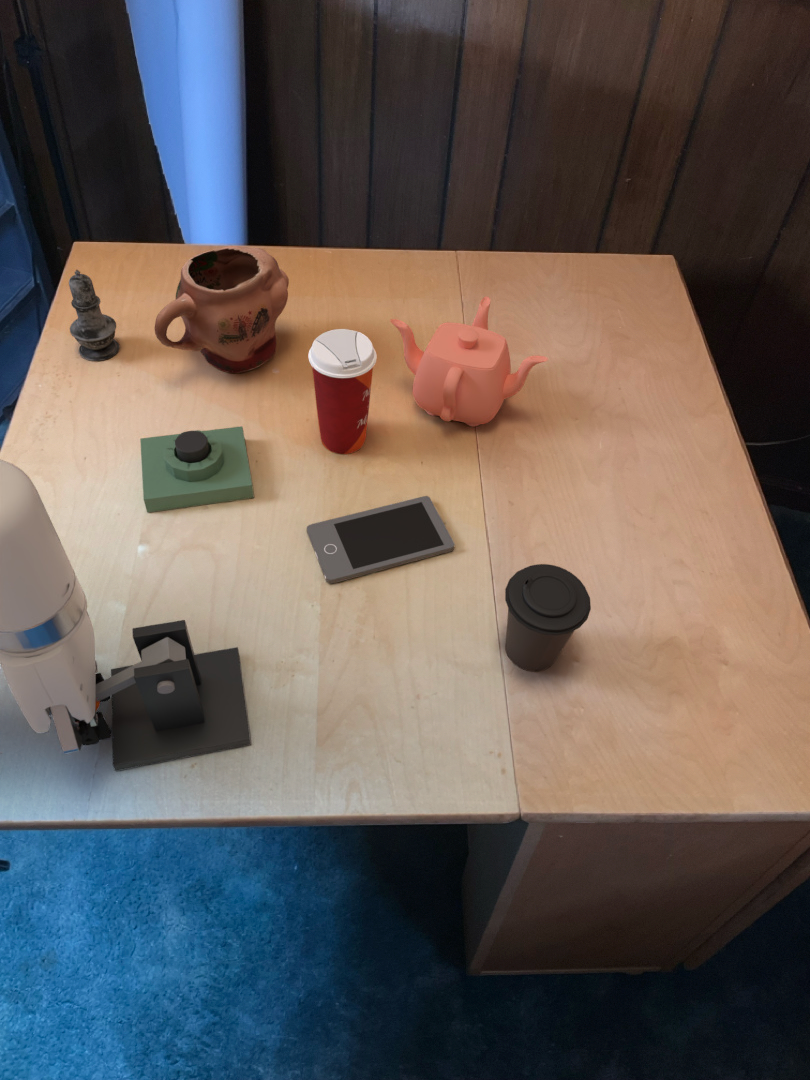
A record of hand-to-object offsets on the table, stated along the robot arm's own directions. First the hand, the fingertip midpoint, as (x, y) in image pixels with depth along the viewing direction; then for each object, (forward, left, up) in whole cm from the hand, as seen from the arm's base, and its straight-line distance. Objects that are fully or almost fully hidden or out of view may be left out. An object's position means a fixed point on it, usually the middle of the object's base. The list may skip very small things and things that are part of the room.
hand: (93, 718), depth 73 cm
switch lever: (+4, 0, +4) cm, 6 cm away
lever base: (+8, 0, -1) cm, 8 cm away
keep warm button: (+12, +31, +2) cm, 33 cm away
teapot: (+47, +39, -1) cm, 61 cm away
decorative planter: (+18, +52, -1) cm, 54 cm away
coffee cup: (+43, 0, -1) cm, 43 cm away
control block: (+12, +31, -1) cm, 33 cm away
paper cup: (+30, +34, -1) cm, 45 cm away
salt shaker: (+1, +57, -1) cm, 57 cm away
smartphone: (+31, +17, -1) cm, 35 cm away
